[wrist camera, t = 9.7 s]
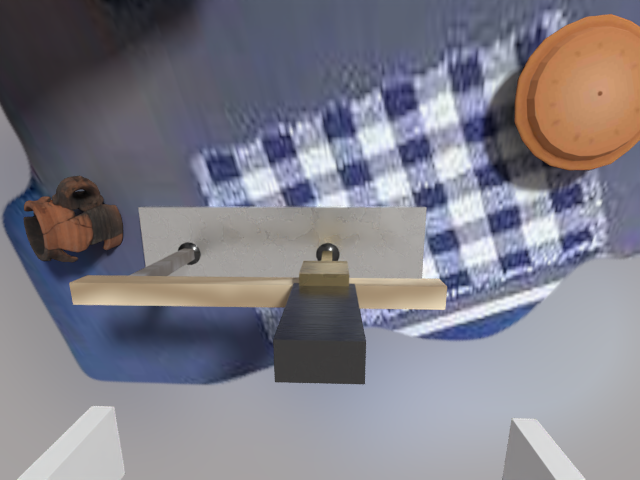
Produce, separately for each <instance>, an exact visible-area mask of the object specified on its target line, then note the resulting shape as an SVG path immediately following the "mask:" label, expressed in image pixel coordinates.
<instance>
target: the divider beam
mask: <svg viewBox="0 0 640 480" xmlns="http://www.w3.org/2000/svg"><path fill="white" fill-rule="evenodd" d="M194 259H195V256H194V249H181V250H179V251H177V252H175V253H173V254H171V255H169V256H167V257H165V258H163V259H161V260H159V261H157V262H155V263H153V264H151V265H149V266H147V267H145V268H143V269H141V270H139V271H137V272H135V273H133V274H131V275H129V276H91V275H87V276H85V277H82V278H80V279H77V280H75V281H73V282H70V283H69V284H70V289H71V295H72V301H73V305H141V306H215V307H285V306H286V303H287V301H288V298H289V295H290V292H291V290H292V287H293V284H294V283H299V277H198V276H168V275H170V274H171V273H173V272H175V271H176V270H178V269H179V268H181V267H183V266H184V265H186V264H188V263H189V262H191V261H192V260H194ZM349 284H355V287H356V292H357V297H358V303H359V308H364V309H438V310H445V306H446V294H447V286H446V285H445V284H444V283H443V282H442V281H441V280H440V279H413V278H349Z"/></svg>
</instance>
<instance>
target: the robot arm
mask: <svg viewBox="0 0 640 480" xmlns="http://www.w3.org/2000/svg"><path fill="white" fill-rule="evenodd" d="M124 474H125V469H124V463H123V457H122V451H121V445H120V439H119V434H118V427H117V421H116V415H115V410H114V407H109V406H92V407H90V409H88V411H86V413H84V414H83V415H82V416H81V417H80V418H79V419H78V420H77V421H76V422H75V423H74V424H73V425H72V426H71V427H70V428H69V429H68V430H67V431H66V432H65V433H64V434H63V435H62V436H61V437H60V438H59V439H58V440H57V441H56V442H55V443H54V444H53V445H52V446H51V447H50V448H49V449H48V450H47V451H46V452H45V453H44V454H43V455H42V456H41V457H40V458H39V459H38V460H37V461H35V462H34V463H33V464H32V465H31V466H30V467H29V468H28V469H27V470H26V471H25V472H24V473H23V474H22V475H21V476H20V477H19V478H18V479H17V480H121V478H122V477H123V475H124ZM502 480H585V478H584V477H583V476H582V475H581V473H580V472H579V471H578V470H577V469H576V467H575V466H574V465H573V464H572V462H570V460H569V459H568V457H567V456H566V455H565V454H564V453H563V451H562V450H561V449H560V448H559V446H558V445H557V444H556V443H555V442H554V440H553V439H552V438H551V437H550V435H549V434H548V433H547V432H546V431H545V429H544V428H543V427H542V426H541V425H540V423H539V422H538V421H537V420H536V419H515V418H512V420H511V426H510V433H509V439H508V445H507V452H506V458H505V465H504V471H503V478H502Z"/></svg>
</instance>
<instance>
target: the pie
mask: <svg viewBox="0 0 640 480" xmlns="http://www.w3.org/2000/svg"><path fill="white" fill-rule="evenodd" d="M515 125H516V127H517V129H518V132H519V134H520V137H521V139H522V141H523V142H524V144H525V145H526V146H527V147H528V149H529V150H530V151H531V152H532V154H533V155H534V156H536V157H537V158H539V159H540V160H542V161H544V162H545V163H547V164H548V165H550V166H553V167H557V168H561V169H565V170H591V169H595V168H598V167H601V166H605V165H608V164H611V163H613V162H614V161H615V160H617V159H618V158H619V157H621V156H622V155H623V154H625V153H626V152H627V151H629V150H630V149H631V148H632V147H633V146H634V145H635V144H636V143H637V142H638V141H639V140H640V27H639V26H638V25H636V24H635V23H633V22H632V21H629V20H626V19H624V18H621V17H618V16H615V15H612V14H609V15H600V16H591V17H586V18H583V19H581V20H578V21H576V22H573V23H571V24H568V25H566V26H564V27H563V28H561V29H560V30H558V31H557V32H555V33H554V34H552V35H551V36H549V37H547V38H546V39H545V40H544V41H543V42H542V43H541V44H540V45H539V47H538V48H537V49H536V50H535V51H534V53H533V54H532V55H531V56H530V57H529V59H528V61H527V63H526V65H525V67H524V69H523V71H522V73H521V75H520V76H519V78H518V83H517V90H516V96H515Z"/></svg>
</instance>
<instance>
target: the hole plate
mask: <svg viewBox="0 0 640 480" xmlns="http://www.w3.org/2000/svg"><path fill="white" fill-rule="evenodd" d="M138 208H139V216H140V224H141V232H142V240H143V248H144V256H145V264H146V267H147V266H149V265H151V264H153V263H155V262H157V261H159V260H161V259H163V258H165V257H167V256H169V255H171V254H173V253H175V252H177V251H179V250H181V249H194V256H195V259H194V260H192V261H191V262H189V263H188V264H186V265H184V266H183V267H181V268H179V269H178V270H176V271H175V272H173V273H171V274H170V275H168V276H198V277H299V272H300V269H301V266H302V263H303V261H321V260H322V252H323V251H332V261H347V263H348V269H349V278H413V279H422V267H423V252H424V237H425V221H426V207H424V206H144V207H138Z"/></svg>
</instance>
